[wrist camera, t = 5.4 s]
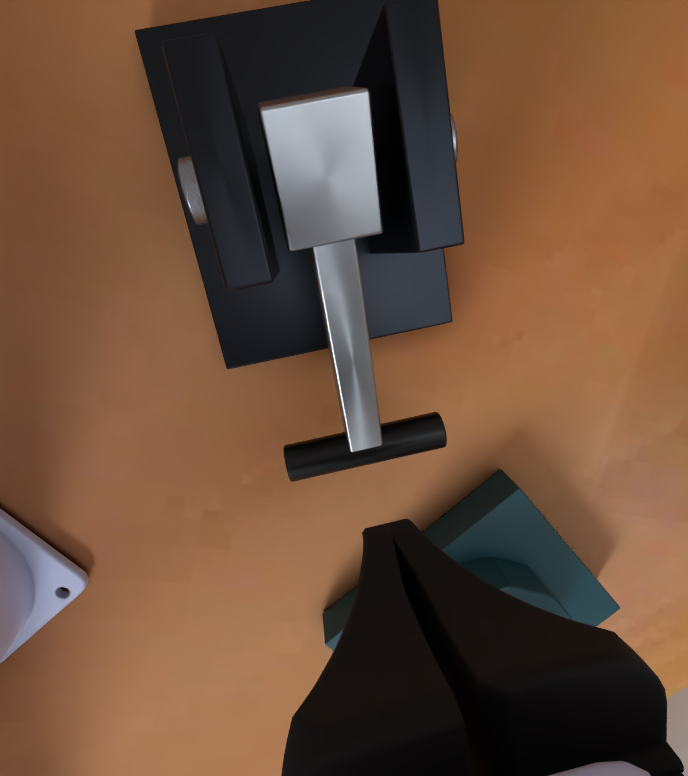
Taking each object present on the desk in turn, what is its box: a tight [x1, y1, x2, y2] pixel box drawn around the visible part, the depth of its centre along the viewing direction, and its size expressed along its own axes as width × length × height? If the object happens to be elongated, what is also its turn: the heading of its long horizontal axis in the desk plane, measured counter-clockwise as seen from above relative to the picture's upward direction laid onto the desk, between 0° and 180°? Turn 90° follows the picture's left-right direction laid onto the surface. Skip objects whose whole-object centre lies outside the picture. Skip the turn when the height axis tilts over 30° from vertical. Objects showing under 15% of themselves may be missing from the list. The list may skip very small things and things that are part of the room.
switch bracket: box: [135, 0, 464, 369], centre depth 12 cm, size 10×8×7 cm
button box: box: [323, 470, 620, 651], centre depth 19 cm, size 10×8×4 cm
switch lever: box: [257, 86, 447, 482], centre depth 13 cm, size 10×5×2 cm, turn 10°
